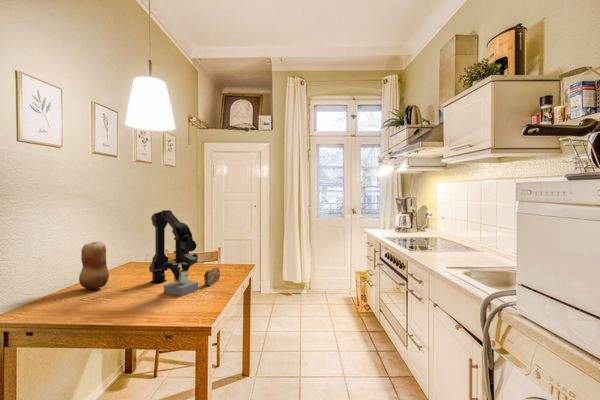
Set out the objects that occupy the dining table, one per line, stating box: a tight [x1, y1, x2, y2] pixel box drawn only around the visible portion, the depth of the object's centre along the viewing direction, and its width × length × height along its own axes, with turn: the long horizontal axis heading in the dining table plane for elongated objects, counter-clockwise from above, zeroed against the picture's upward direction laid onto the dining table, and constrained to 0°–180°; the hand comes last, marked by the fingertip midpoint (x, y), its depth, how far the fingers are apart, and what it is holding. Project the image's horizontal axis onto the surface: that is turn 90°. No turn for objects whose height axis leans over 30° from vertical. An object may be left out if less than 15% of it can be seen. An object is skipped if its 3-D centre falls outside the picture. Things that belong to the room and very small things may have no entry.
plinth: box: [163, 280, 199, 297], centre depth 174 cm, size 12×12×4 cm
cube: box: [173, 269, 189, 283], centre depth 173 cm, size 5×5×5 cm
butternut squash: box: [78, 241, 110, 291], centre depth 176 cm, size 14×13×25 cm
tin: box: [203, 267, 221, 286], centre depth 189 cm, size 15×3×8 cm, turn 168°
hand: (181, 278), depth 173 cm, fingers closed on cube, 5 cm apart
